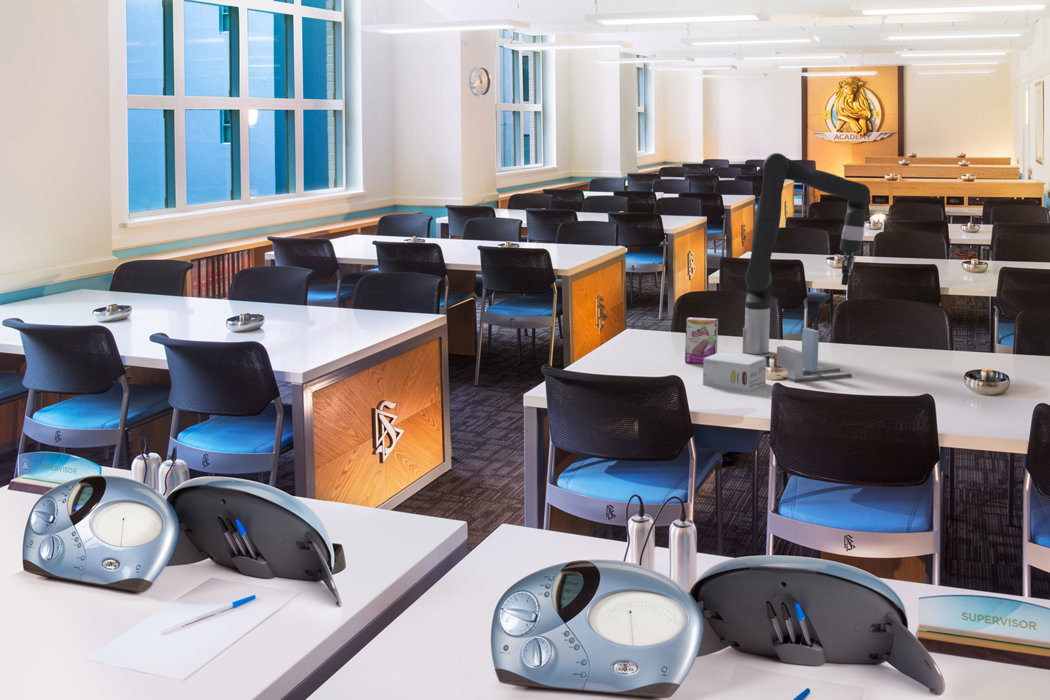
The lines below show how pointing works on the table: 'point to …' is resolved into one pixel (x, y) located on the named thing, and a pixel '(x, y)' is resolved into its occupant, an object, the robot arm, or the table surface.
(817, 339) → the light blue flat block
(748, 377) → the supplement box
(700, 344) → the candy bar box
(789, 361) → the grey bookend stand
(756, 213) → the robot arm
